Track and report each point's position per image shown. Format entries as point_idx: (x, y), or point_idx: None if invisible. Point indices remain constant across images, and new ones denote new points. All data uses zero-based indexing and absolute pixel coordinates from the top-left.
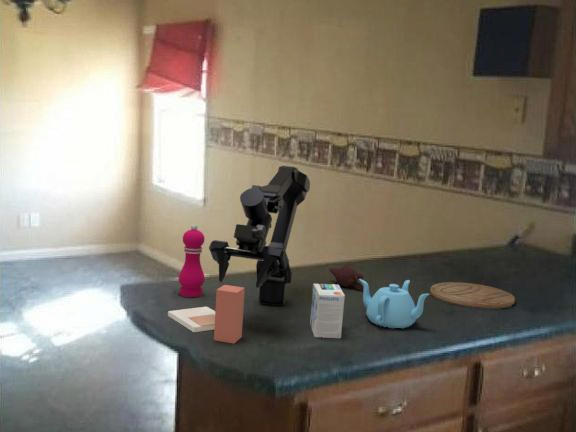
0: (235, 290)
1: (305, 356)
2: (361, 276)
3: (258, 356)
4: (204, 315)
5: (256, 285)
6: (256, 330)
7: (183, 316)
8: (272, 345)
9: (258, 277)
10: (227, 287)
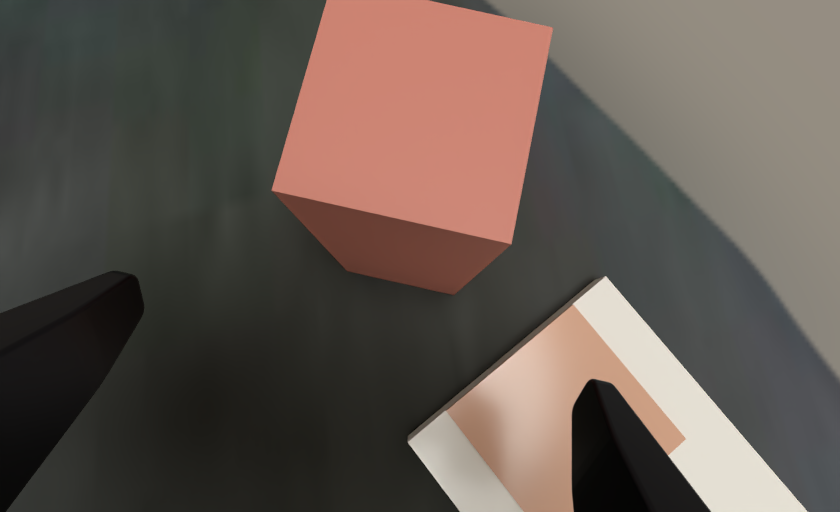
0: (359, 49)
1: (32, 82)
2: None
3: (248, 37)
4: None
5: (126, 273)
6: (277, 406)
7: (717, 462)
8: (186, 189)
9: (35, 330)
10: (459, 138)
